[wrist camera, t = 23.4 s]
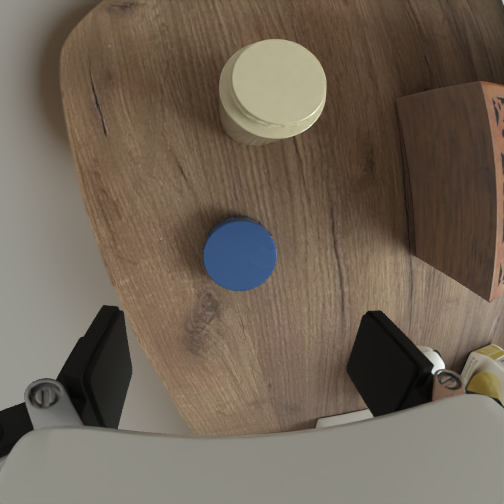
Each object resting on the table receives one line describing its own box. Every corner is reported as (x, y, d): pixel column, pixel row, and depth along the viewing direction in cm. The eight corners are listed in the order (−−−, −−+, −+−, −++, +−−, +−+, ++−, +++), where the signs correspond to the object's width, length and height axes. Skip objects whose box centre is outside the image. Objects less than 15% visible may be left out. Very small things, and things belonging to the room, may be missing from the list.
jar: (205, 123, 19) (194, 94, 10) (244, 69, 18) (262, 11, 9) (264, 159, 20) (298, 160, 11) (301, 106, 19) (356, 74, 10)
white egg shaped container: (421, 368, 29) (452, 404, 22) (369, 392, 29) (395, 435, 22) (427, 302, 26) (470, 337, 19) (368, 327, 26) (405, 373, 19)
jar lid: (256, 291, 23) (259, 300, 22) (194, 268, 22) (192, 277, 21) (284, 231, 22) (289, 237, 21) (219, 205, 21) (219, 208, 19)
